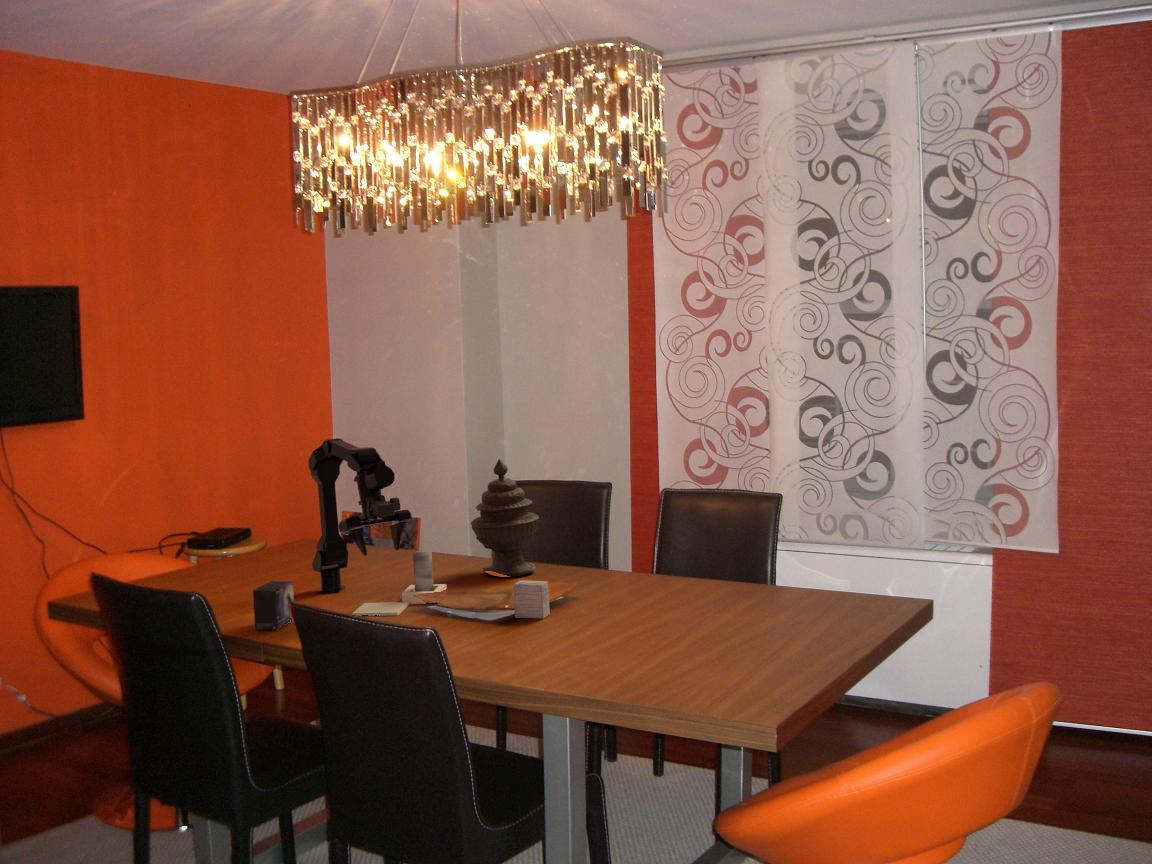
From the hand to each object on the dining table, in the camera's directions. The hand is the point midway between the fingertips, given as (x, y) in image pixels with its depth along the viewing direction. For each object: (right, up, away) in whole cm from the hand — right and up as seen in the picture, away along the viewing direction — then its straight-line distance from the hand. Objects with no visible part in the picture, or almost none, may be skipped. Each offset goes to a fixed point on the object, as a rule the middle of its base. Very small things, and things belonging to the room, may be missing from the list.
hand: (381, 552), depth 296 cm
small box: (-25, -18, -9) cm, 32 cm away
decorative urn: (+30, -11, +41) cm, 52 cm away
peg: (+10, -14, +12) cm, 21 cm away
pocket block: (+10, -14, +12) cm, 21 cm away
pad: (0, -15, +1) cm, 15 cm away
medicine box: (+40, -15, -12) cm, 44 cm away
